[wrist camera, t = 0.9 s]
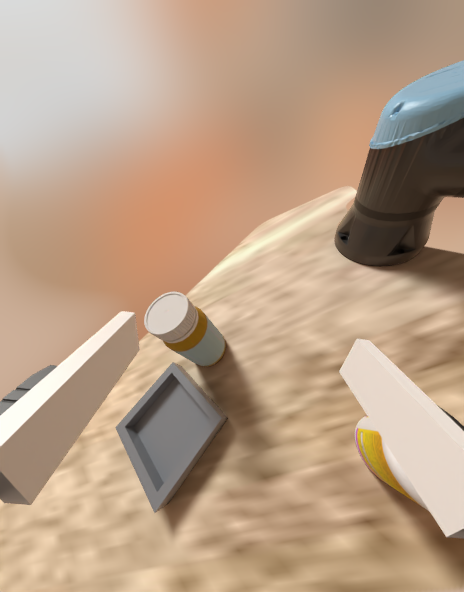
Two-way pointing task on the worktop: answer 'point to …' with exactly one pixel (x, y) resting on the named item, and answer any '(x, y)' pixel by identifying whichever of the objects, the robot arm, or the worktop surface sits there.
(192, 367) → the worktop surface
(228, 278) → the worktop surface
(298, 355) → the worktop surface
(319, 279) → the worktop surface
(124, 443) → the tray
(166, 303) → the bottle
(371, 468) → the supplement bottle
